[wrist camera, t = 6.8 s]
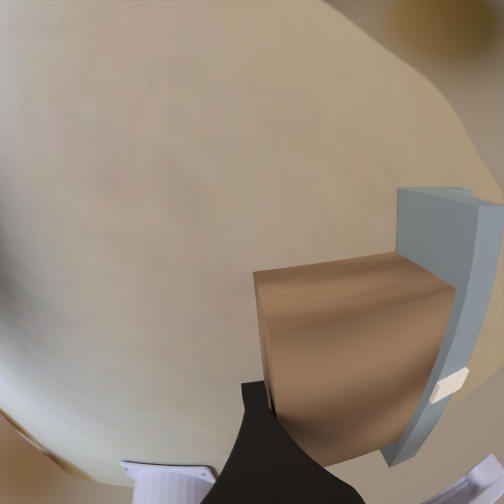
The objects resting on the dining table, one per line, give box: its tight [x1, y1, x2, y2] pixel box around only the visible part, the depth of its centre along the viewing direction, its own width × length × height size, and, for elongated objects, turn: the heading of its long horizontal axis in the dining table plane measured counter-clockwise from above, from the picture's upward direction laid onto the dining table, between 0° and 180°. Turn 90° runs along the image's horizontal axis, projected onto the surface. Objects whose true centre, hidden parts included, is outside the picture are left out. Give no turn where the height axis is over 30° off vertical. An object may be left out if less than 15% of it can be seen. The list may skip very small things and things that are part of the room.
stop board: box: [380, 188, 504, 468], centre depth 11 cm, size 16×5×5 cm, turn 6°
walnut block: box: [253, 252, 456, 467], centre depth 11 cm, size 10×7×4 cm
